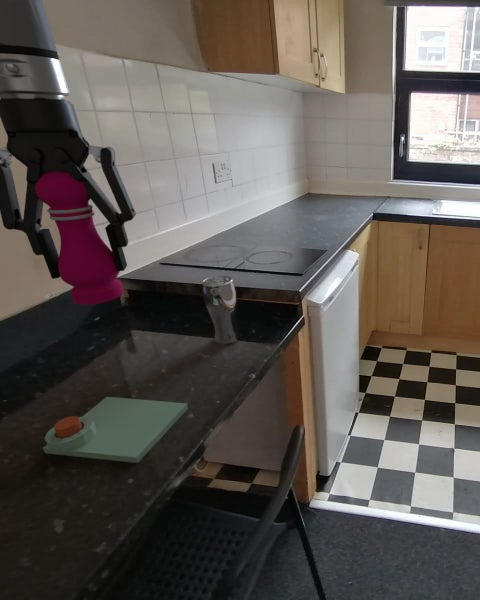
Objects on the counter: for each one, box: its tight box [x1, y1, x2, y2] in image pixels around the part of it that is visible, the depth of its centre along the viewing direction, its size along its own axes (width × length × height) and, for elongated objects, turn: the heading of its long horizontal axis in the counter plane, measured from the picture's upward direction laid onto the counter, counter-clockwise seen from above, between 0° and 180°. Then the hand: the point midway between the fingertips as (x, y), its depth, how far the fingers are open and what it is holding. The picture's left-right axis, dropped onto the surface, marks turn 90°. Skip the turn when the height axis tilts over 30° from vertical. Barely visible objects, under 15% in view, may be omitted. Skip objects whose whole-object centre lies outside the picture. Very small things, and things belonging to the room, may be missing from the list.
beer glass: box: [201, 275, 243, 345], centre depth 94 cm, size 7×7×15 cm
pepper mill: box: [35, 172, 125, 306], centre depth 57 cm, size 7×7×20 cm
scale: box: [42, 396, 189, 464], centre depth 68 cm, size 16×14×3 cm
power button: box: [53, 415, 82, 438], centre depth 64 cm, size 3×3×2 cm
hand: (91, 271), depth 59 cm, fingers closed on pepper mill, 7 cm apart
